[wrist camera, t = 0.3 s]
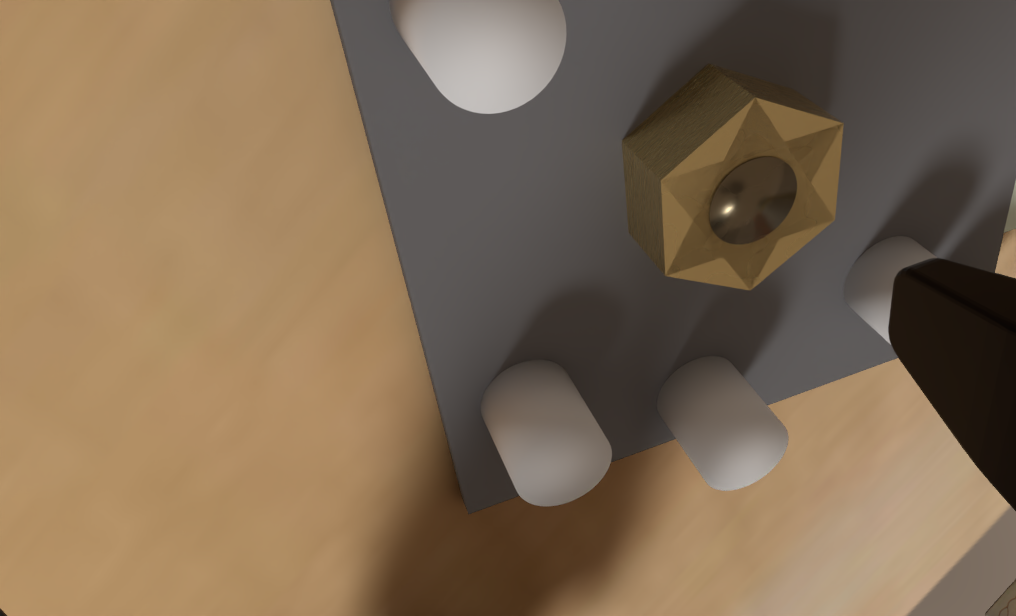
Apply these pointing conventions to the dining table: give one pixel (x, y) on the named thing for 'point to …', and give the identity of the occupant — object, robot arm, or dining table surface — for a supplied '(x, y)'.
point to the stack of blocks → (1005, 603)
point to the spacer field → (604, 225)
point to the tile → (1011, 213)
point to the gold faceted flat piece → (730, 178)
